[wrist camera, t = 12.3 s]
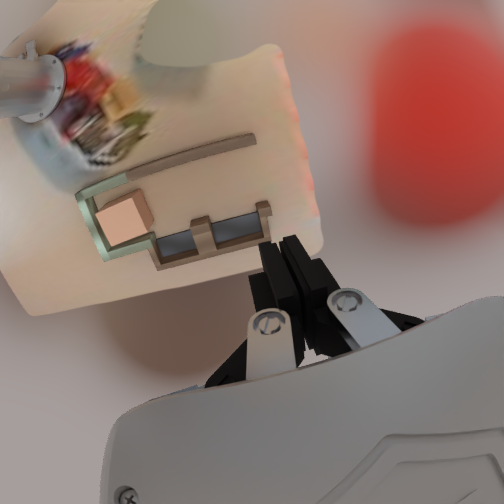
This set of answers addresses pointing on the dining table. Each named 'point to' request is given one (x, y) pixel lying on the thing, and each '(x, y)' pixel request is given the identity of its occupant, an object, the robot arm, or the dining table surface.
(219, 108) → the dining table surface
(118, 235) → the block
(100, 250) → the box
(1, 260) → the dining table surface
